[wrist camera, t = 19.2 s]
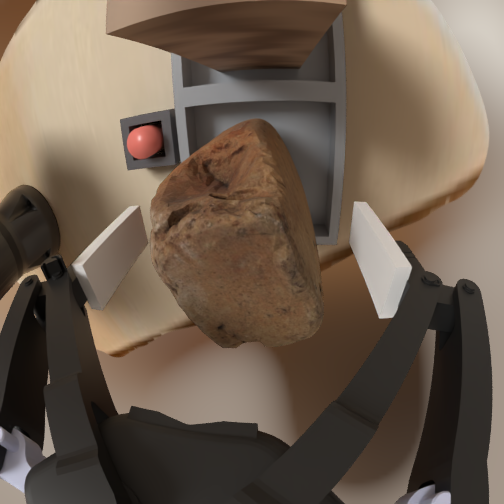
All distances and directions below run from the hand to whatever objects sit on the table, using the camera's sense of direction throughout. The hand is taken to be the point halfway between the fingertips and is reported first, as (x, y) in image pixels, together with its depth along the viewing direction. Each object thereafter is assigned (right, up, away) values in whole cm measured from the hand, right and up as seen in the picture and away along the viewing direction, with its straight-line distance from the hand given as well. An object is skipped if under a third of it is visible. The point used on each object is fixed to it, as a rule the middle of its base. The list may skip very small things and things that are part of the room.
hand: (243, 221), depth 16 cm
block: (+1, +7, +12) cm, 14 cm away
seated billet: (+1, +21, +4) cm, 21 cm away
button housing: (-10, +12, +12) cm, 19 cm away
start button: (-10, +11, +11) cm, 19 cm away
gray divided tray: (+1, +15, +9) cm, 17 cm away
